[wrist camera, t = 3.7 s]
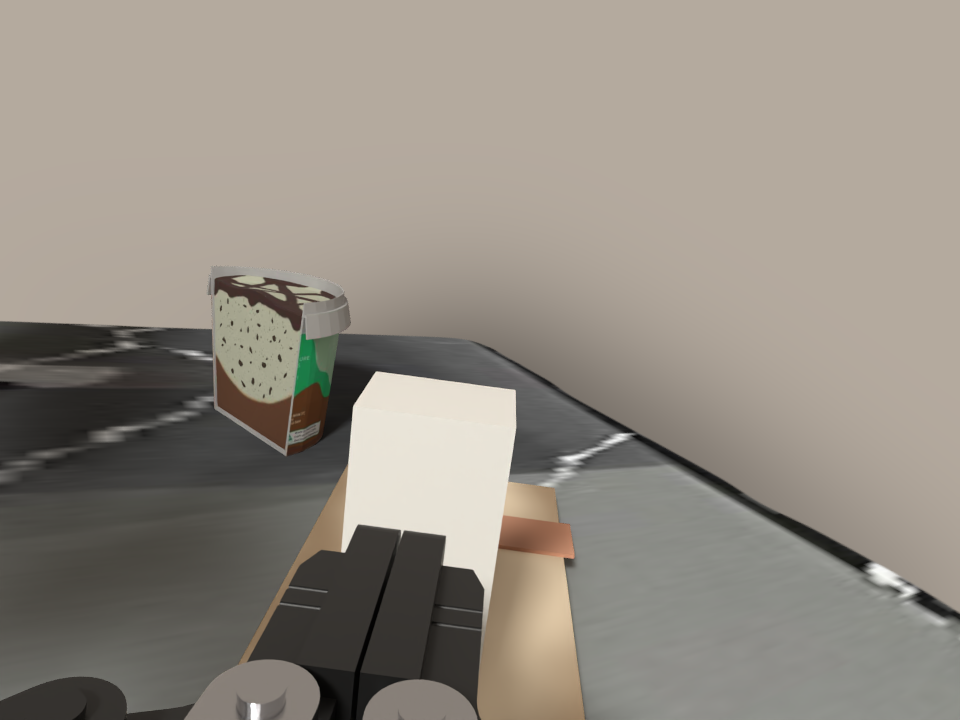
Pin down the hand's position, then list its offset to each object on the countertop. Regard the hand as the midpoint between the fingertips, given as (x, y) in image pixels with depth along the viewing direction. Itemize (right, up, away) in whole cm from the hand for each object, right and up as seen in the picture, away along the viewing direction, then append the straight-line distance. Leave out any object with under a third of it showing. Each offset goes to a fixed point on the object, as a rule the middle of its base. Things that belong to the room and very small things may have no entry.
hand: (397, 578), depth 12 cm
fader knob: (-1, -8, +10) cm, 12 cm away
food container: (-12, -1, +37) cm, 39 cm away
